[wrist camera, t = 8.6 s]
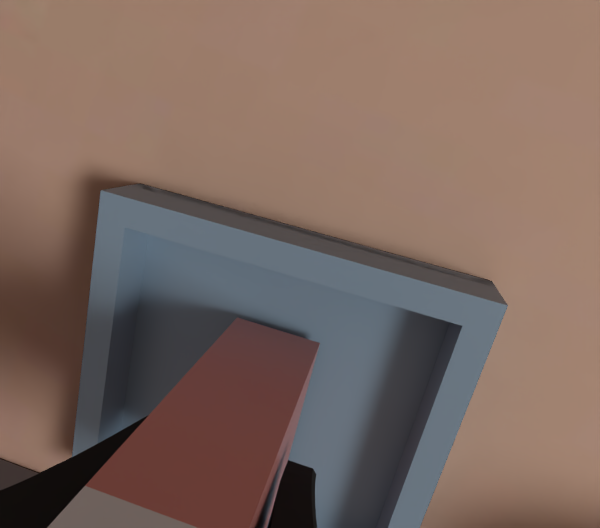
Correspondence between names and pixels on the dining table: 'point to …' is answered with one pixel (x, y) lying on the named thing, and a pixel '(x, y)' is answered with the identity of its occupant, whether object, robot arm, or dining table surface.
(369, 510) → the parts tray
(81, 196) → the dining table surface
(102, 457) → the robot arm
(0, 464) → the grey rectangular frame
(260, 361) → the red and grey block
